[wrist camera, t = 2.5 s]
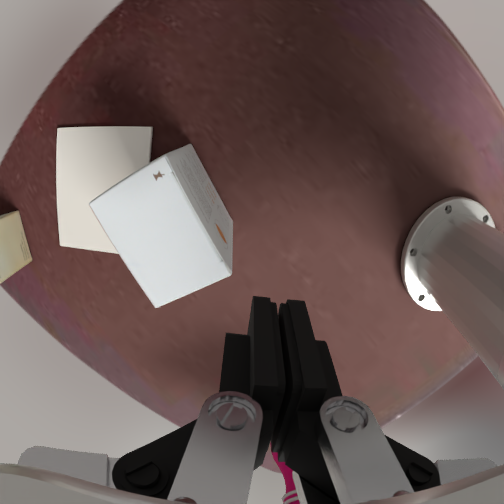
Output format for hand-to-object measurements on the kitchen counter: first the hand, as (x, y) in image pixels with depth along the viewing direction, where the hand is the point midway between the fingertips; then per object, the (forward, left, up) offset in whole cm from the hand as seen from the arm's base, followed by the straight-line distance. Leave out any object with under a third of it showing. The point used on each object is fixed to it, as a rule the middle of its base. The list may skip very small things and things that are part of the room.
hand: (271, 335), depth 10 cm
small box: (+7, 0, -18) cm, 19 cm away
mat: (+15, 0, -18) cm, 24 cm away
